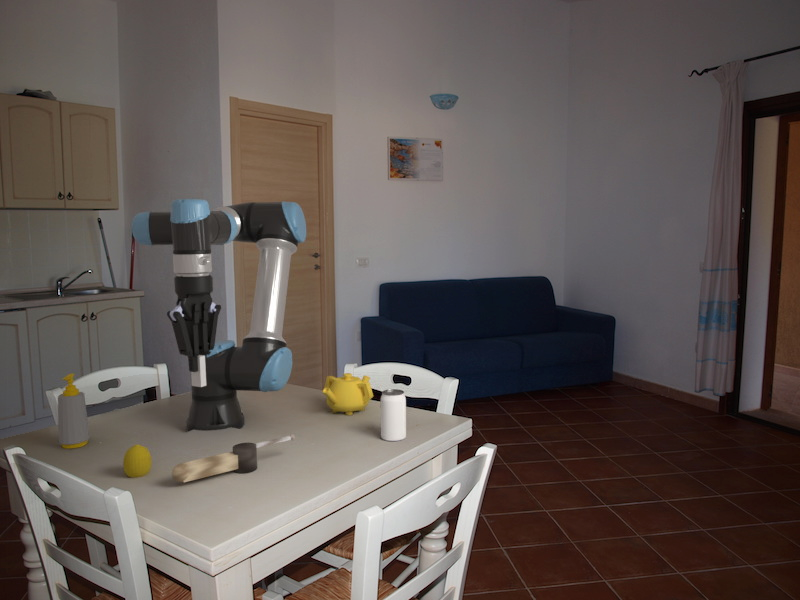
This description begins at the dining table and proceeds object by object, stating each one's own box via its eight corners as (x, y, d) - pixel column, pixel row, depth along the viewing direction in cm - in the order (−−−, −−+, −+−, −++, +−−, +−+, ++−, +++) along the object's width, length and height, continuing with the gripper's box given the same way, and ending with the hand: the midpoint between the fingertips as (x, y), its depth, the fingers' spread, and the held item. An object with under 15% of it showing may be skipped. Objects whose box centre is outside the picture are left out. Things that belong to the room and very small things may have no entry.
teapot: (347, 398, 188) (346, 363, 187) (392, 407, 177) (392, 371, 176) (302, 414, 172) (301, 376, 171) (349, 425, 161) (348, 385, 160)
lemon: (130, 475, 129) (127, 440, 128) (156, 474, 129) (154, 439, 128) (120, 486, 123) (117, 449, 122) (147, 485, 124) (145, 448, 123)
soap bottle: (54, 450, 144) (48, 379, 142) (65, 441, 151) (60, 372, 149) (84, 448, 145) (79, 377, 143) (94, 439, 152) (89, 371, 150)
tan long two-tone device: (176, 491, 117) (174, 465, 116) (169, 483, 121) (167, 458, 120) (300, 459, 133) (300, 436, 132) (290, 452, 137) (290, 430, 136)
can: (403, 442, 147) (403, 396, 146) (378, 441, 148) (377, 394, 147) (408, 434, 153) (407, 389, 152) (384, 432, 155) (383, 388, 153)
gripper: (181, 277, 115) (188, 395, 118) (229, 272, 126) (234, 380, 129) (154, 276, 118) (161, 391, 121) (203, 272, 130) (208, 376, 132)
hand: (199, 385), depth 125 cm, fingers closed
